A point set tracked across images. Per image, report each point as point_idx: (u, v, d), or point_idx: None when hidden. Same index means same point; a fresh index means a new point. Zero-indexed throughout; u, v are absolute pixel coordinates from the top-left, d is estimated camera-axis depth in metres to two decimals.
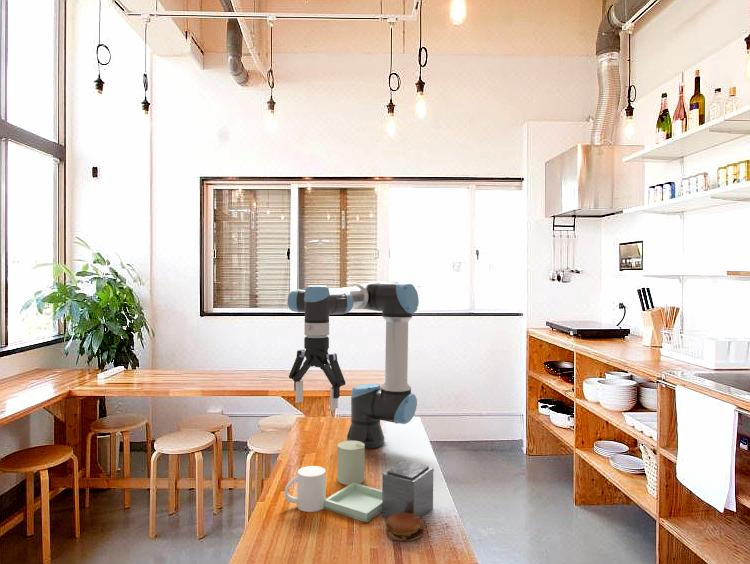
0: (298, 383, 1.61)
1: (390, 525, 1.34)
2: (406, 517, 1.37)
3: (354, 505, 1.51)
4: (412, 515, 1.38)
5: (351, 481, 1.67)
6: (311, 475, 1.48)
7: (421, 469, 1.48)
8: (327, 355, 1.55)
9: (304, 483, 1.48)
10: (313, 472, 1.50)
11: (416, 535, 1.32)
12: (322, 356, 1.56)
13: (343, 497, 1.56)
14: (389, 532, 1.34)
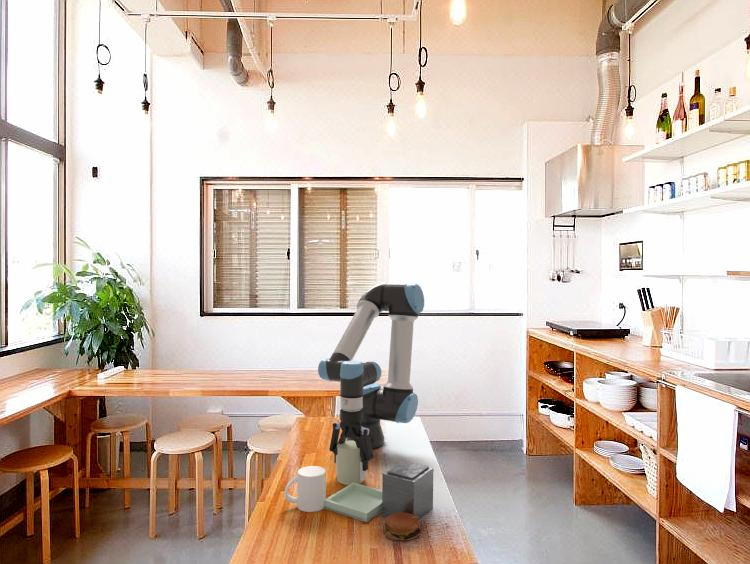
0: None
1: (388, 525, 1.34)
2: (404, 517, 1.37)
3: (354, 505, 1.51)
4: (410, 515, 1.38)
5: (351, 481, 1.67)
6: (311, 475, 1.48)
7: (421, 469, 1.48)
8: (362, 428, 1.68)
9: (304, 483, 1.48)
10: (313, 472, 1.50)
11: (414, 535, 1.33)
12: (357, 428, 1.68)
13: (343, 497, 1.56)
14: (387, 532, 1.35)
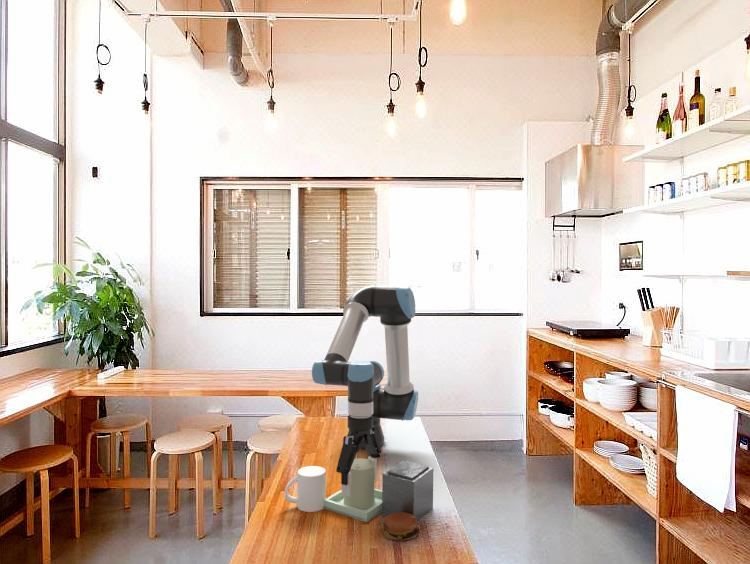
0: (369, 459, 1.58)
1: (386, 524, 1.34)
2: (402, 517, 1.37)
3: None
4: (408, 515, 1.38)
5: (344, 499, 1.52)
6: (311, 475, 1.48)
7: (421, 469, 1.48)
8: None
9: (304, 483, 1.48)
10: (313, 472, 1.50)
11: (412, 535, 1.33)
12: None
13: (343, 497, 1.56)
14: (385, 531, 1.35)
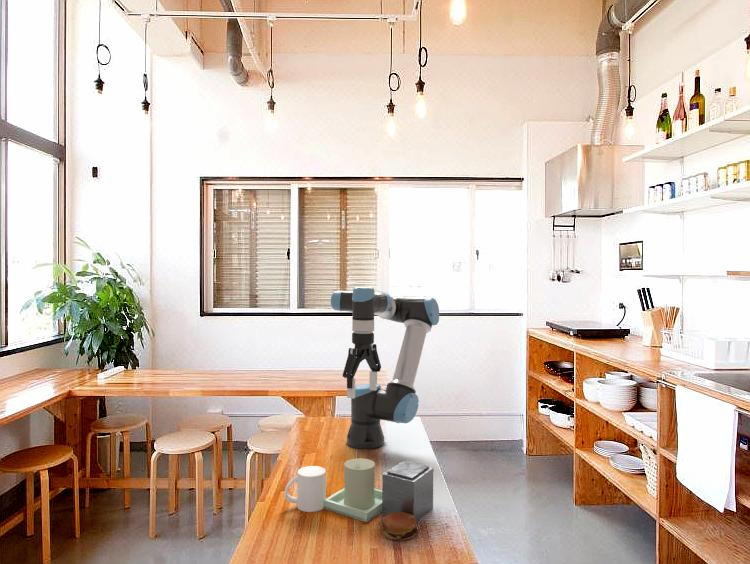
0: (370, 372, 1.84)
1: (385, 524, 1.34)
2: (401, 516, 1.37)
3: None
4: (407, 514, 1.38)
5: (344, 499, 1.52)
6: (311, 475, 1.48)
7: (421, 469, 1.48)
8: None
9: (304, 483, 1.48)
10: (313, 472, 1.50)
11: (411, 534, 1.33)
12: None
13: (343, 497, 1.56)
14: (384, 531, 1.35)
